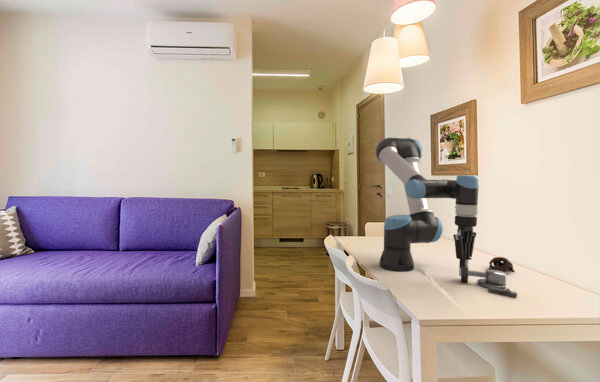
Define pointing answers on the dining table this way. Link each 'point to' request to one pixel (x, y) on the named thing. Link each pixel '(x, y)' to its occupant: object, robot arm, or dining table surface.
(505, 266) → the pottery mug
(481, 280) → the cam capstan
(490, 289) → the stand board
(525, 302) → the dining table surface
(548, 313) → the dining table surface
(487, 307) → the dining table surface
